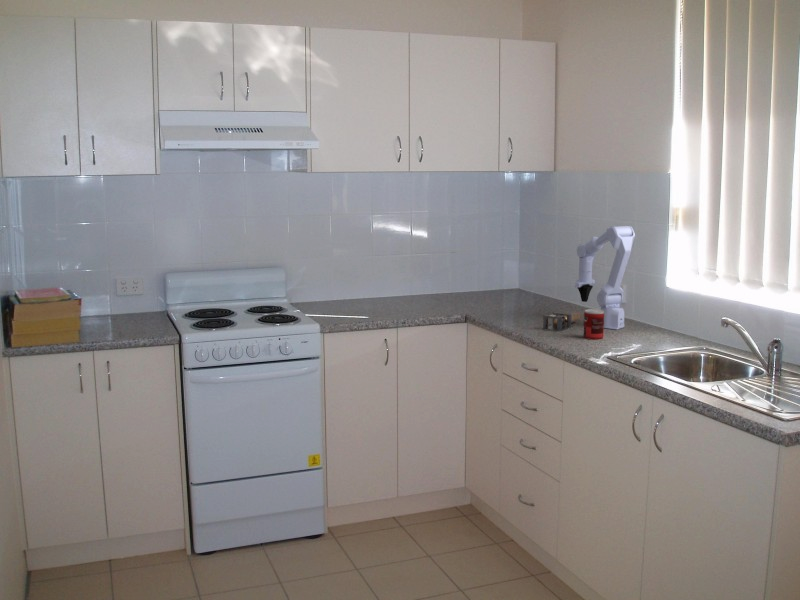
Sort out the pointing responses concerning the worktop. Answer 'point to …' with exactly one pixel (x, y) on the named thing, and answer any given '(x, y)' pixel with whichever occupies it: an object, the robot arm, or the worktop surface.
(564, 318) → the tube
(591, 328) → the canned food
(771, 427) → the worktop surface
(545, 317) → the firebox
